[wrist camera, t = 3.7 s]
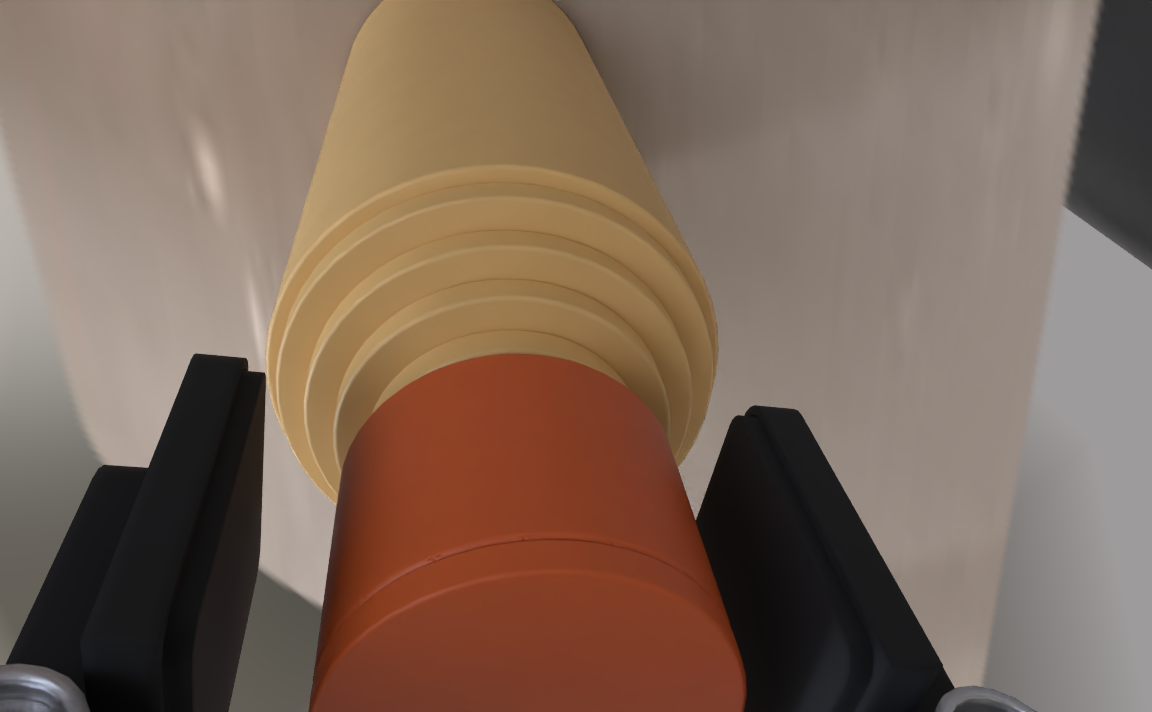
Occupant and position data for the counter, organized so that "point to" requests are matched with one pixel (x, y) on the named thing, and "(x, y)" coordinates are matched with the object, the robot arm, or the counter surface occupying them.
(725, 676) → the cap
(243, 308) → the counter surface
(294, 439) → the sauce bottle
